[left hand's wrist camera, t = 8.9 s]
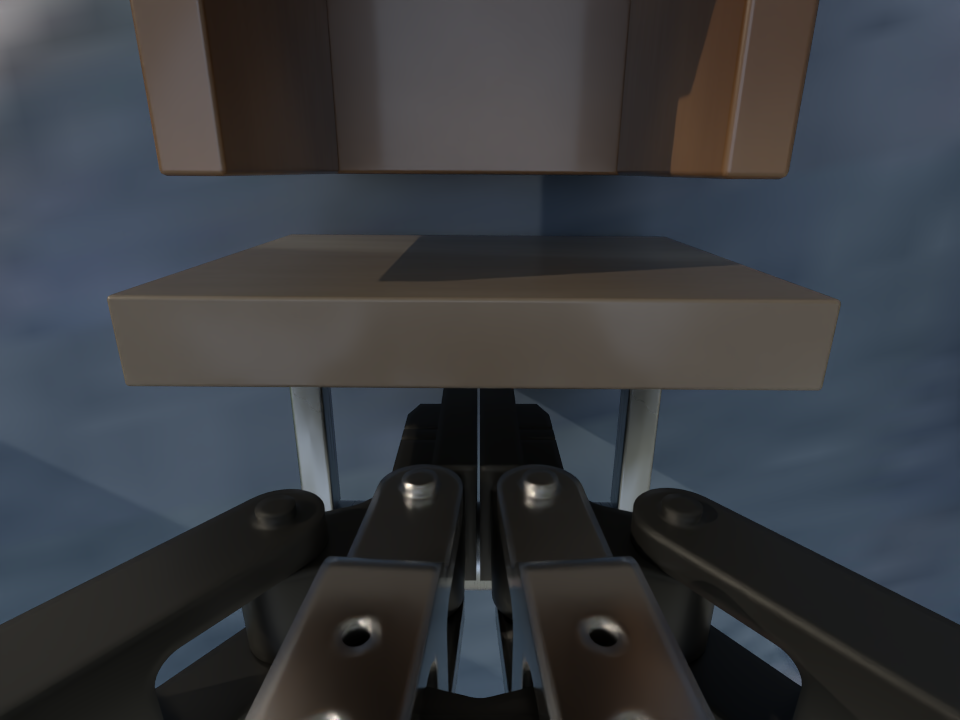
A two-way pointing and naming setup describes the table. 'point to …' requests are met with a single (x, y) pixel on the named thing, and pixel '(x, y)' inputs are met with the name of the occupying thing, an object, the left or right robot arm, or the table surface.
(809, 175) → the table surface
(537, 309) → the drawer
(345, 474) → the table surface
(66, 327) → the table surface
